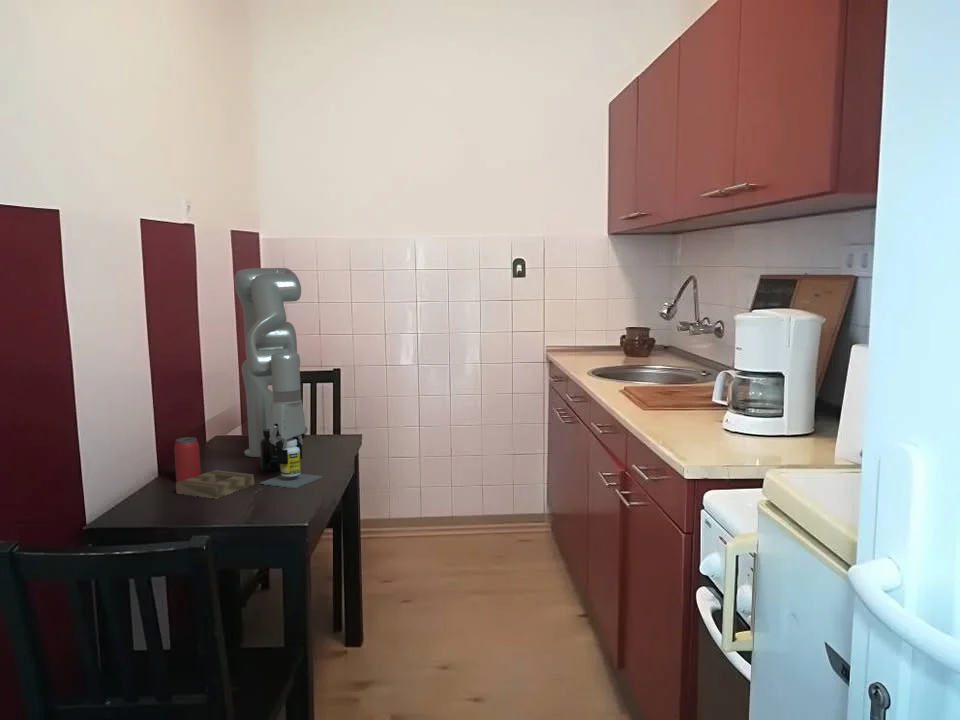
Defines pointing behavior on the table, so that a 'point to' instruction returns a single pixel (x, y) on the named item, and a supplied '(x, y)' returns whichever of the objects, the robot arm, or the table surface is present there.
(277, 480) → the mat
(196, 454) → the beer can
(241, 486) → the holder
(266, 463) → the supplement bottle
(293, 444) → the supplement bottle
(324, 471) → the table surface
